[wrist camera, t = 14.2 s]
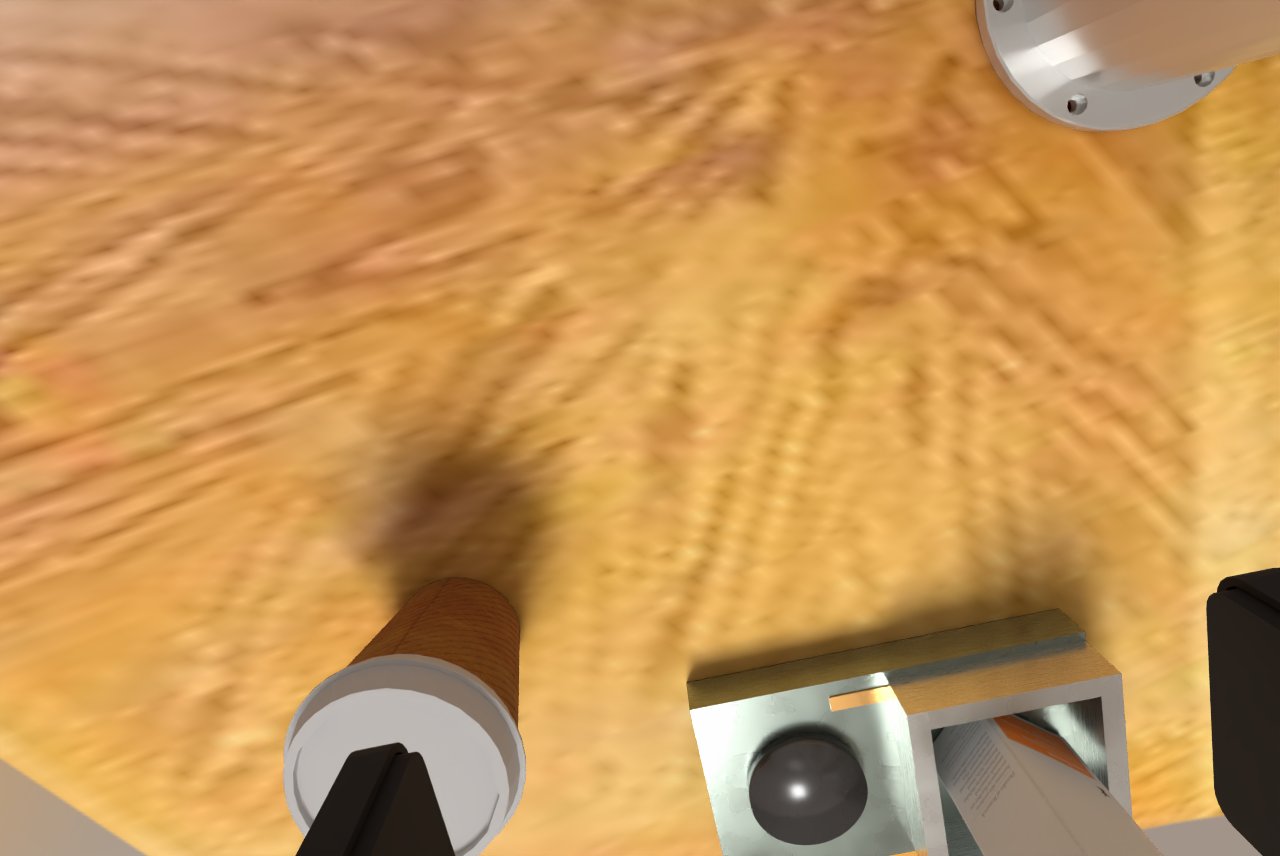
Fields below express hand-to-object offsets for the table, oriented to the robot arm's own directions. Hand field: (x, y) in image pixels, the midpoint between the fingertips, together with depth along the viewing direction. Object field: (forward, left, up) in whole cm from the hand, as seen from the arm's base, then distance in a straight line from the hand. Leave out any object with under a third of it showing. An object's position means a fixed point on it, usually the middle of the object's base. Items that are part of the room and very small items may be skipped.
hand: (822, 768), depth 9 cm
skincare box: (-12, +23, -28) cm, 38 cm away
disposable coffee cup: (+14, +12, -31) cm, 36 cm away
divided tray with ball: (-7, +23, -30) cm, 39 cm away
